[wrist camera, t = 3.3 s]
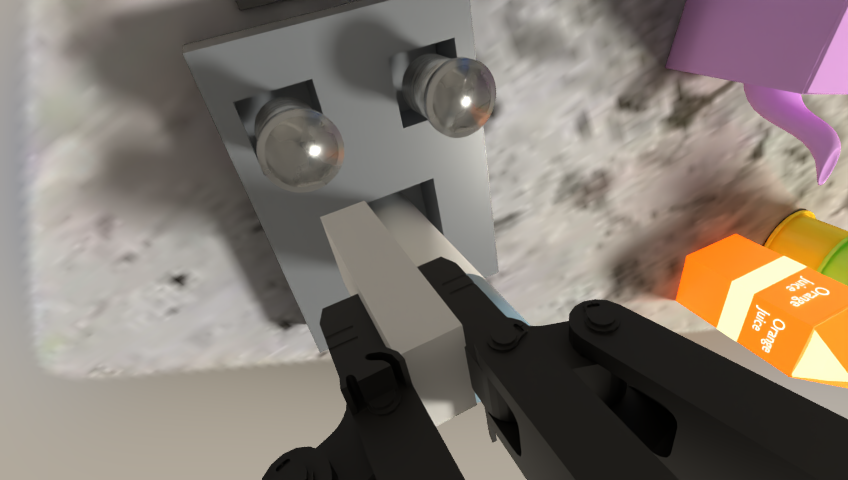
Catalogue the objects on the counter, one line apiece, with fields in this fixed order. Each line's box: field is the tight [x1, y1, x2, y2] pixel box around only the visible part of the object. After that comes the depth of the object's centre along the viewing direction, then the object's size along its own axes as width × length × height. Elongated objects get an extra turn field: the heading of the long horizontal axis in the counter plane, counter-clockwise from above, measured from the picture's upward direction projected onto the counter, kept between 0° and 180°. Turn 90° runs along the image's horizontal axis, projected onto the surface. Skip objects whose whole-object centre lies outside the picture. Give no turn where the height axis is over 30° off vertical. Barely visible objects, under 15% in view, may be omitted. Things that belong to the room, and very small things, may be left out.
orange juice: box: [676, 234, 848, 388], centre depth 51 cm, size 8×9×20 cm
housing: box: [182, 0, 499, 352], centre depth 31 cm, size 22×16×4 cm
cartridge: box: [367, 192, 530, 403], centre depth 28 cm, size 5×5×16 cm
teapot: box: [665, 0, 848, 185], centre depth 35 cm, size 15×25×14 cm, turn 175°
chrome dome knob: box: [254, 97, 344, 193], centre depth 24 cm, size 4×4×4 cm
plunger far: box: [402, 53, 496, 138], centre depth 26 cm, size 4×4×4 cm
